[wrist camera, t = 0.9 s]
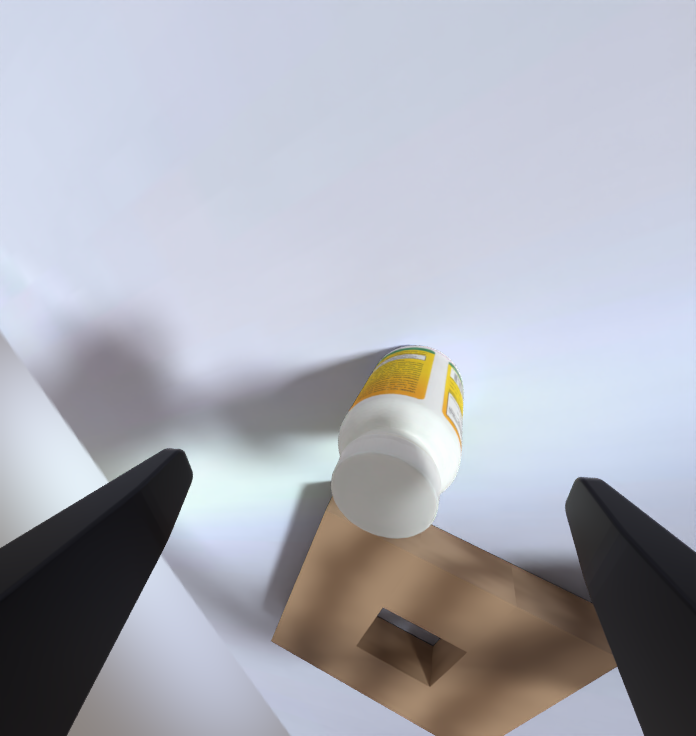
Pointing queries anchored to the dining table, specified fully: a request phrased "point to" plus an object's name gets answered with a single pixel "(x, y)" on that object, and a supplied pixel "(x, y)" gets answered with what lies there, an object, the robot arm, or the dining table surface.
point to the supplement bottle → (400, 443)
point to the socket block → (440, 629)
